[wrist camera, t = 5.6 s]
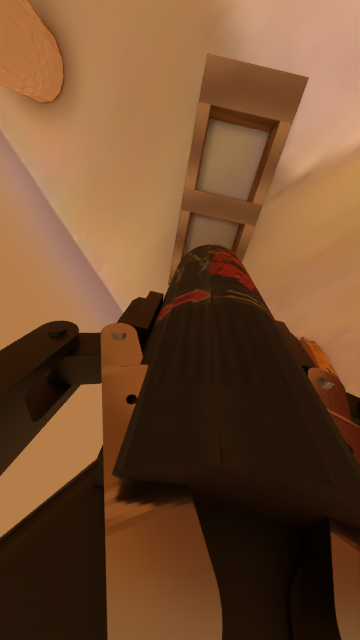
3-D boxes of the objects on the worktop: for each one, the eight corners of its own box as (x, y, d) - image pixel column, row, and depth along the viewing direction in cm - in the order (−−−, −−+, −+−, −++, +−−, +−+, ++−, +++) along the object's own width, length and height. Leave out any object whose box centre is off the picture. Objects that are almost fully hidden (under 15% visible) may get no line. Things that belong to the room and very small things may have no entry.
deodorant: (161, 272, 17) (26, 492, 4) (222, 228, 15) (335, 419, 2) (199, 321, 19) (186, 565, 6) (257, 289, 17) (421, 572, 4)
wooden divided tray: (206, 75, 22) (207, 53, 19) (293, 95, 22) (308, 77, 19) (171, 276, 35) (167, 285, 31) (226, 288, 35) (228, 298, 32)
